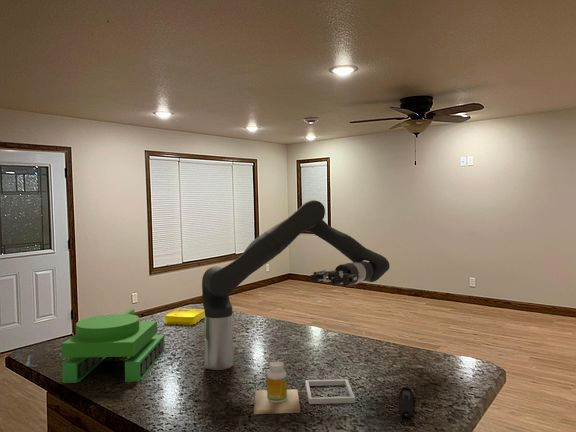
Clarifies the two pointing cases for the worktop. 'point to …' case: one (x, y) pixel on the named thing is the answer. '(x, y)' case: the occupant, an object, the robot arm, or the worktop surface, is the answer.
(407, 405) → the electric trimmer
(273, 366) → the supplement bottle
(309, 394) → the square frame
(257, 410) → the pad
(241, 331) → the worktop surface
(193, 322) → the element tile
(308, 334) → the worktop surface
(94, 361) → the tank
